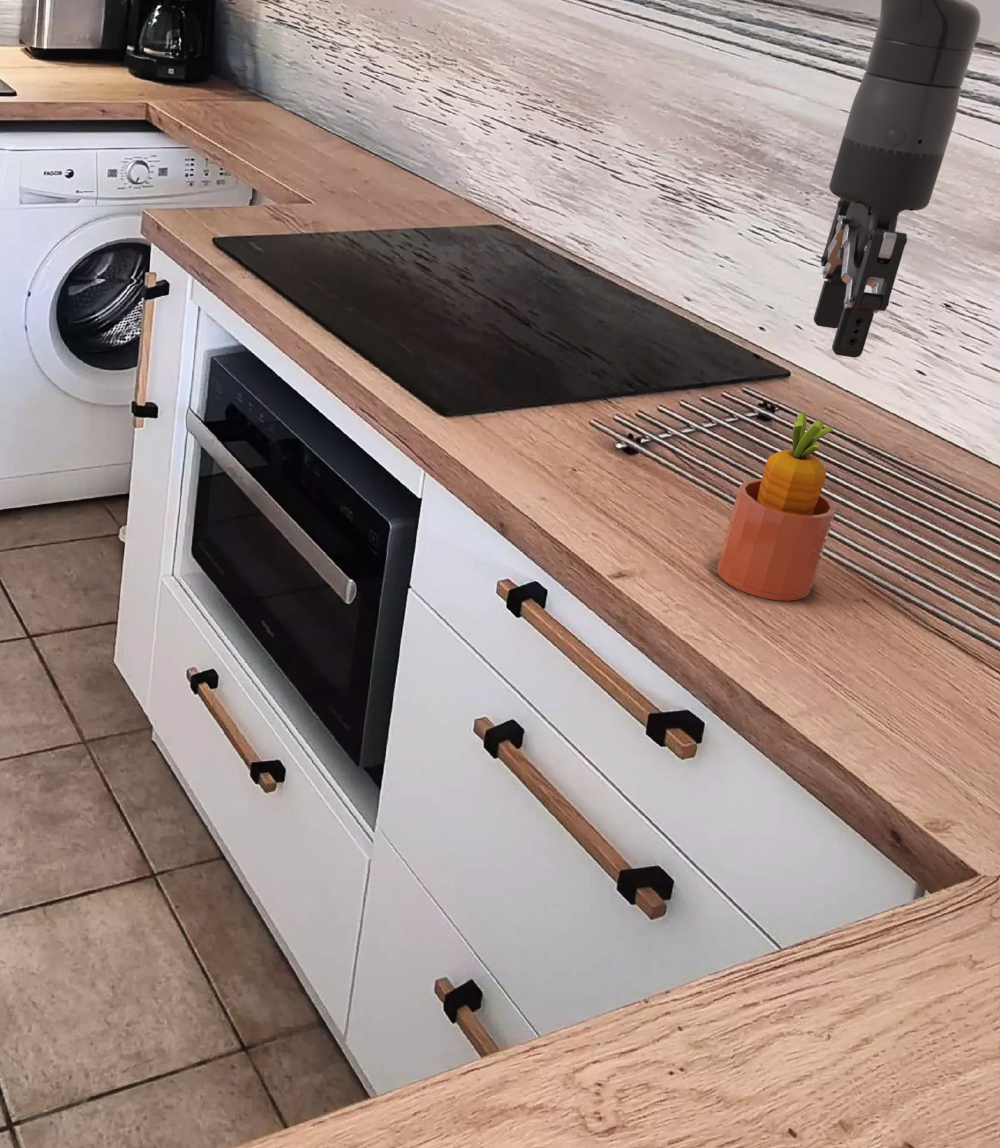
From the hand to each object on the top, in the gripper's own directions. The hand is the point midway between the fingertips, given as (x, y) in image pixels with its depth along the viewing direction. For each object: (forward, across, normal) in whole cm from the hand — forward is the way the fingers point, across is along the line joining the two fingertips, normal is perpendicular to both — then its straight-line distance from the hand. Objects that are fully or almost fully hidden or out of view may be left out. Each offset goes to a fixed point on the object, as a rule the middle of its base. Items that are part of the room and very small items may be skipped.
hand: (835, 340), depth 124 cm
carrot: (+22, 0, 0) cm, 22 cm away
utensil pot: (+22, 0, 0) cm, 22 cm away
